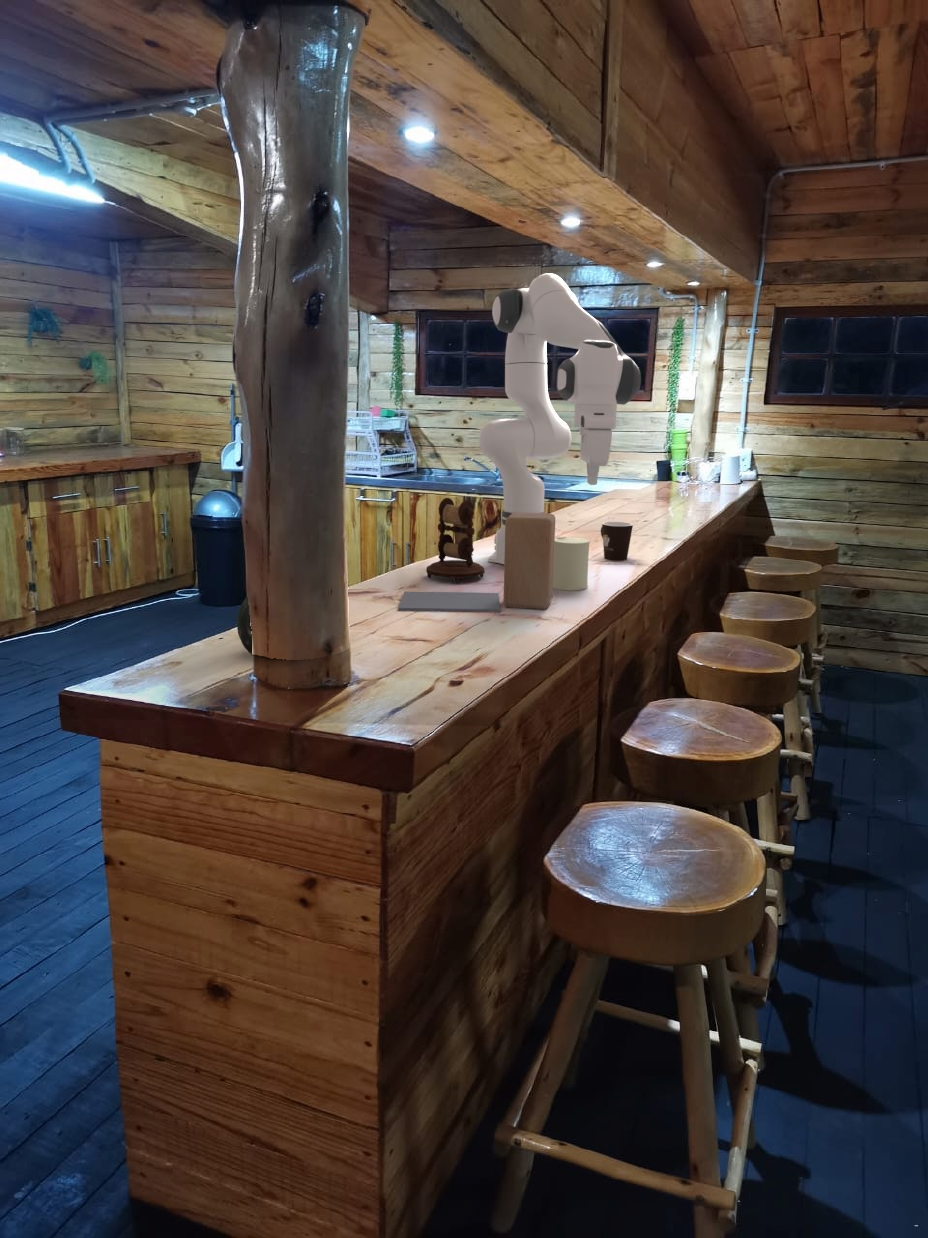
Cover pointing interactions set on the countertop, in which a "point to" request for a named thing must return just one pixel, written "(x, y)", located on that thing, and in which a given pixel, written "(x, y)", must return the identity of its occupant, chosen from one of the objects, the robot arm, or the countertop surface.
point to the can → (570, 563)
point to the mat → (449, 601)
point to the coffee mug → (616, 540)
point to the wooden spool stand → (456, 543)
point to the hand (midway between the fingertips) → (592, 484)
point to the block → (529, 560)
